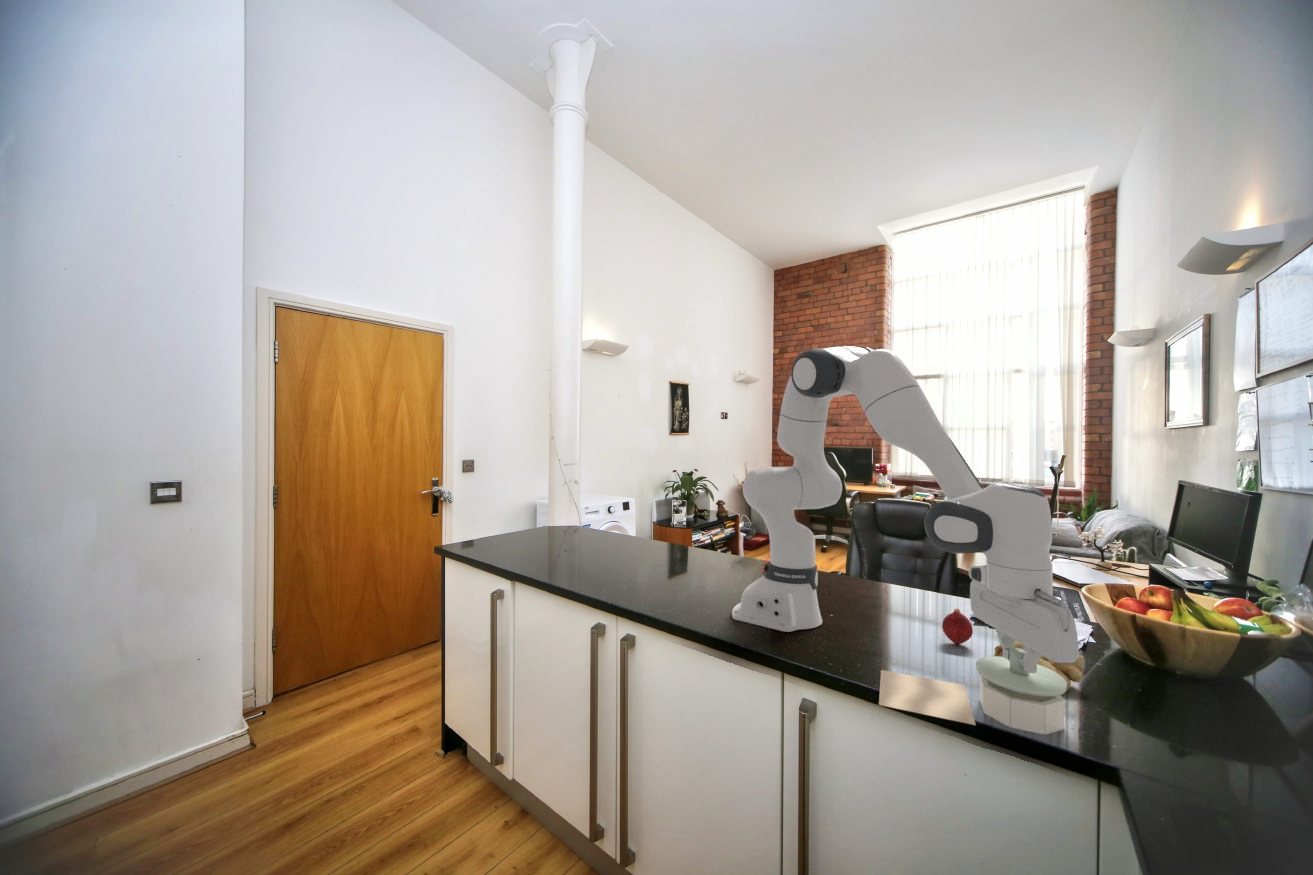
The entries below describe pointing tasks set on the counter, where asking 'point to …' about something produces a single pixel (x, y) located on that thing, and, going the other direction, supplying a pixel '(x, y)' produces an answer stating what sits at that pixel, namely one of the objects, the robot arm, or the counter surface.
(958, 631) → the onion
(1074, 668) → the ginger root
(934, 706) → the mat
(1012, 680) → the lid
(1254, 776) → the counter surface
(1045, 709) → the bowl
